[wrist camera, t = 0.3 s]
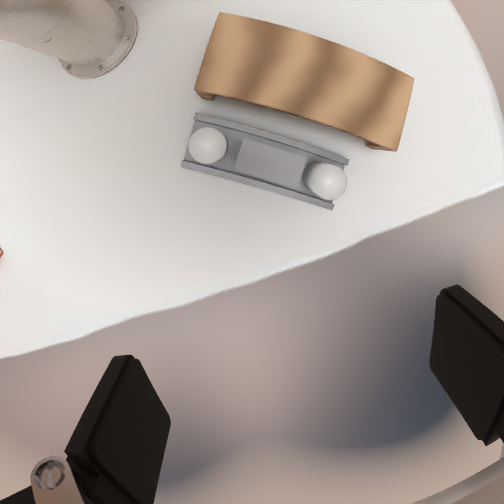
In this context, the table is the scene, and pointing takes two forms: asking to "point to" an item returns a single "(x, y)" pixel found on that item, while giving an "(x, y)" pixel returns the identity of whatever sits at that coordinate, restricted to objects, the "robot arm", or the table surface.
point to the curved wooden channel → (305, 79)
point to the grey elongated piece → (265, 161)
